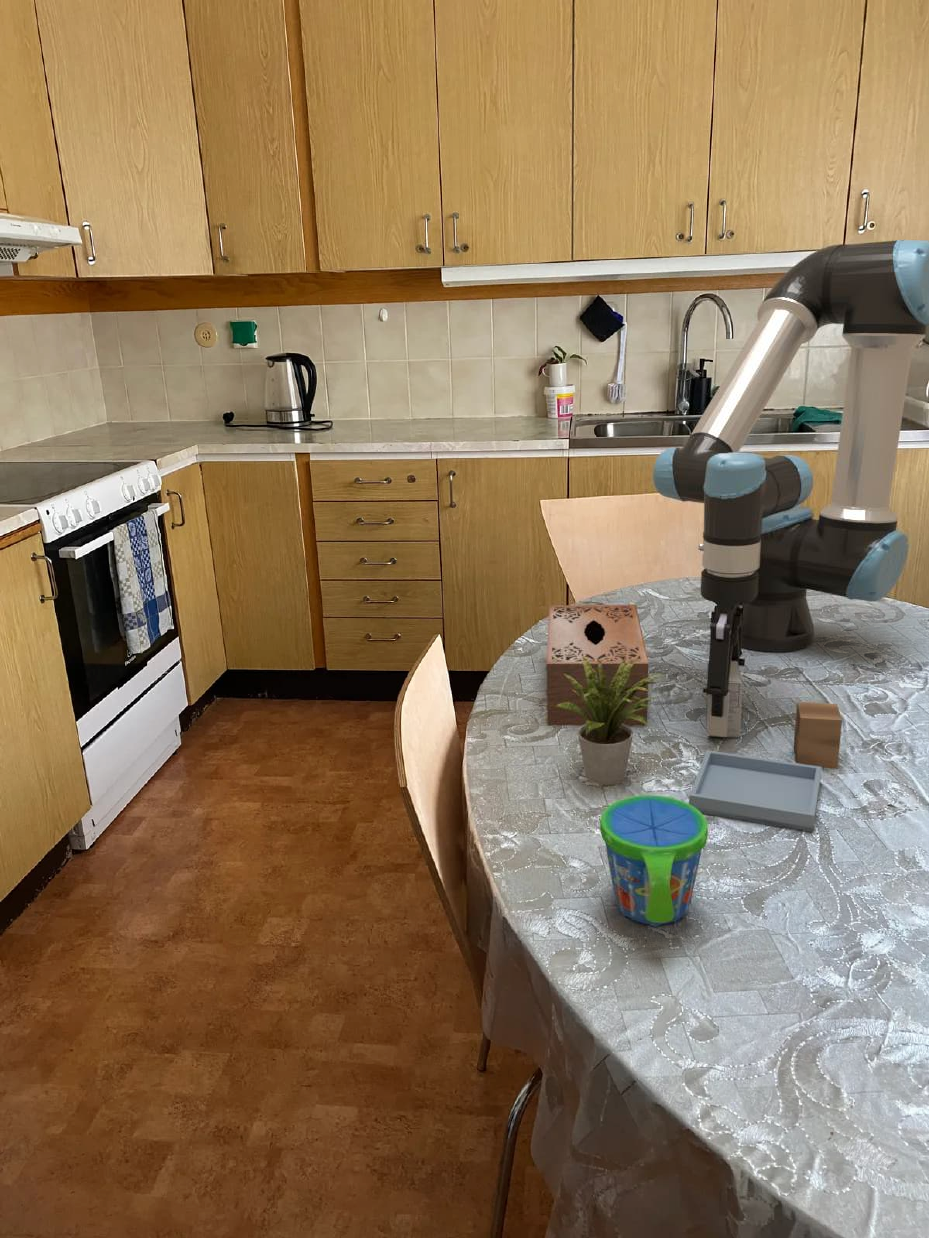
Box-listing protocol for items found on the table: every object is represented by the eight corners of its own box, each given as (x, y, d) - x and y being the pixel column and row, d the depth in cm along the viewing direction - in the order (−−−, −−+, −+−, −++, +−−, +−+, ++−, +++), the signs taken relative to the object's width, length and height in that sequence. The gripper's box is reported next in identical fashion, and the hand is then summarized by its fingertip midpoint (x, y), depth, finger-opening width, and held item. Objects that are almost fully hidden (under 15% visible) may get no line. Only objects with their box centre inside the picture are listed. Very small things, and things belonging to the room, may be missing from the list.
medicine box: (740, 739, 131) (743, 682, 128) (707, 737, 132) (709, 680, 129) (736, 714, 138) (739, 660, 135) (705, 713, 139) (707, 659, 136)
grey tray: (706, 765, 124) (707, 750, 124) (820, 782, 119) (821, 766, 118) (688, 811, 114) (689, 795, 113) (812, 832, 108) (814, 815, 108)
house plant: (651, 815, 113) (654, 692, 108) (541, 799, 118) (538, 680, 112) (669, 761, 126) (673, 647, 120) (569, 748, 130) (567, 639, 125)
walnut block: (793, 748, 128) (797, 701, 125) (832, 751, 126) (836, 703, 124) (796, 766, 123) (800, 717, 121) (837, 768, 122) (842, 720, 120)
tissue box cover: (550, 660, 162) (549, 605, 159) (635, 660, 160) (635, 604, 157) (547, 726, 138) (546, 663, 135) (647, 727, 136) (648, 663, 133)
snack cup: (605, 858, 105) (605, 778, 102) (702, 866, 103) (705, 784, 100) (594, 950, 91) (594, 860, 88) (706, 961, 89) (710, 869, 85)
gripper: (714, 547, 138) (708, 688, 145) (686, 590, 119) (681, 749, 127) (768, 550, 135) (758, 694, 142) (747, 595, 117) (738, 758, 124)
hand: (722, 720), depth 135 cm, fingers closed on medicine box, 8 cm apart
